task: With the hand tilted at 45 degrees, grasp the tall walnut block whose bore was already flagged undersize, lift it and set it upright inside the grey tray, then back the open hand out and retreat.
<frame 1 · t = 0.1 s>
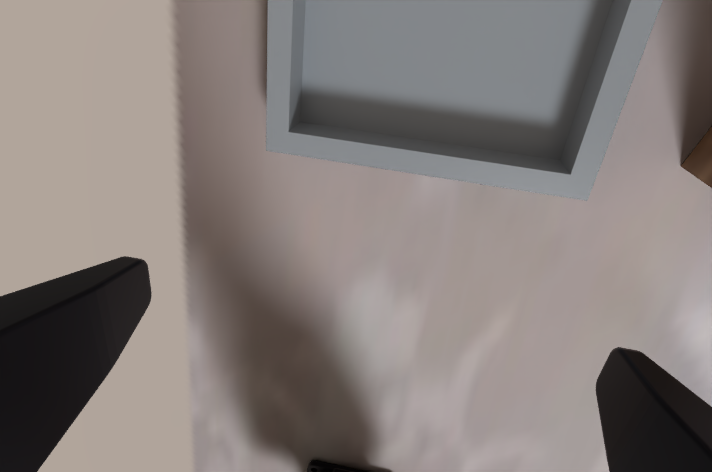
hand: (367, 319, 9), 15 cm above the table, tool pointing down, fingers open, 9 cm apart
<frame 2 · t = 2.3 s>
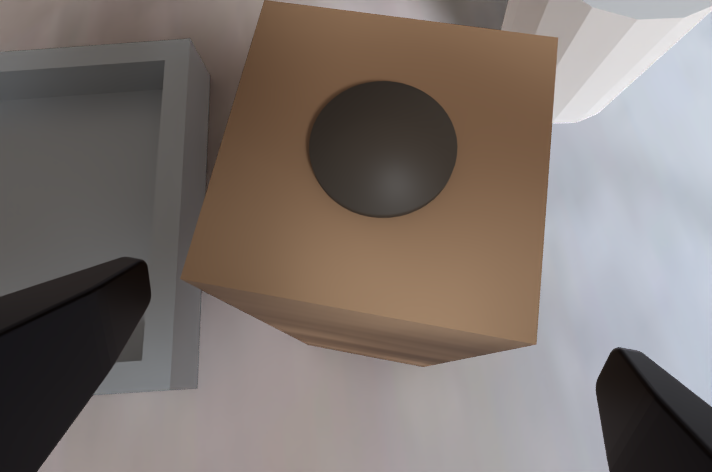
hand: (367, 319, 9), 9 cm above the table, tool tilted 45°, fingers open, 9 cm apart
white cup: (552, 73, 21), on the table
walnut block: (375, 298, 18), on the table
grey tray: (41, 226, 20), on the table
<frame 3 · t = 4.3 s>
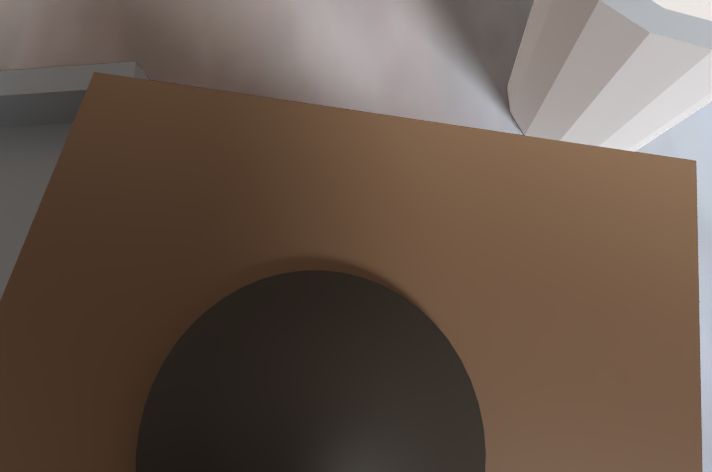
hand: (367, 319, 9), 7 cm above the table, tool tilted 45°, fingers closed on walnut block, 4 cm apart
white cup: (579, 100, 18), on the table
walnut block: (362, 385, 15), on the table, touching gripper
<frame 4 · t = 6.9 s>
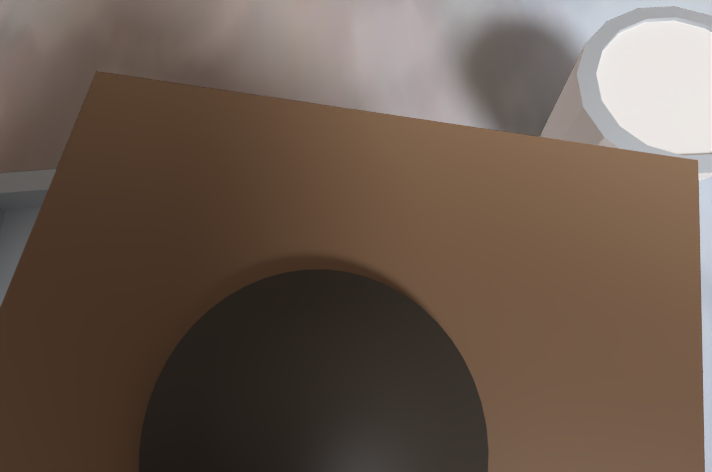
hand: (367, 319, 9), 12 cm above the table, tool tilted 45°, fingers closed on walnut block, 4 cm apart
white cup: (587, 169, 23), on the table
walnut block: (362, 385, 15), point 6 cm above the table, touching gripper
grey tray: (122, 324, 21), on the table
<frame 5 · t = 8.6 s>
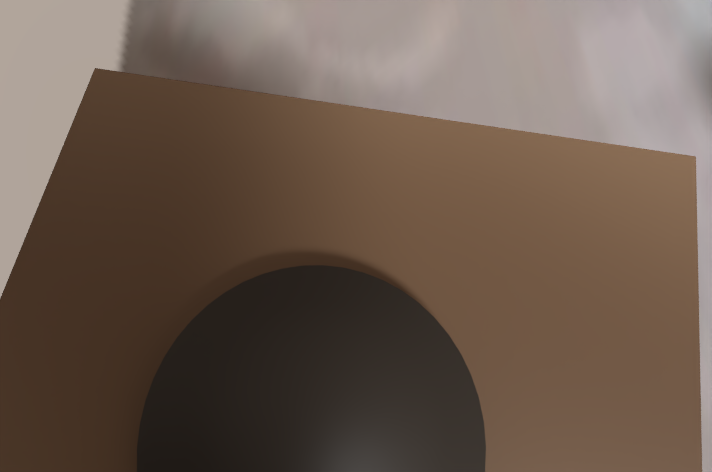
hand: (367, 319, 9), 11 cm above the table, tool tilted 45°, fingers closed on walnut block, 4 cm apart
walnut block: (362, 385, 15), point 4 cm above the table, touching gripper
when the fingers open (9 cm above the table, at t = 9.8 s): walnut block drops 1 cm, resting on grey tray.
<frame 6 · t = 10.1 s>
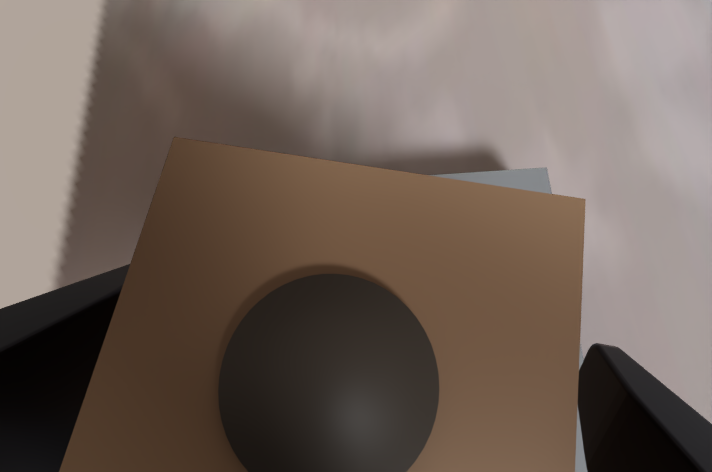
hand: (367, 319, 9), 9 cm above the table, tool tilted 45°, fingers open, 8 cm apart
walnut block: (362, 383, 16), point 1 cm above the table, touching grey tray
grey tray: (363, 383, 17), on the table
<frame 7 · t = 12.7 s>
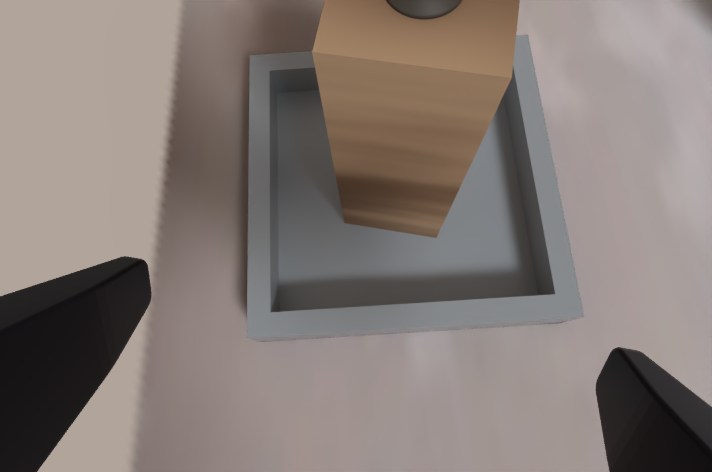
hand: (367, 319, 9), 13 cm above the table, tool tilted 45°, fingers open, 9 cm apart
walnut block: (397, 188, 23), point 1 cm above the table, touching grey tray
grey tray: (397, 193, 23), on the table
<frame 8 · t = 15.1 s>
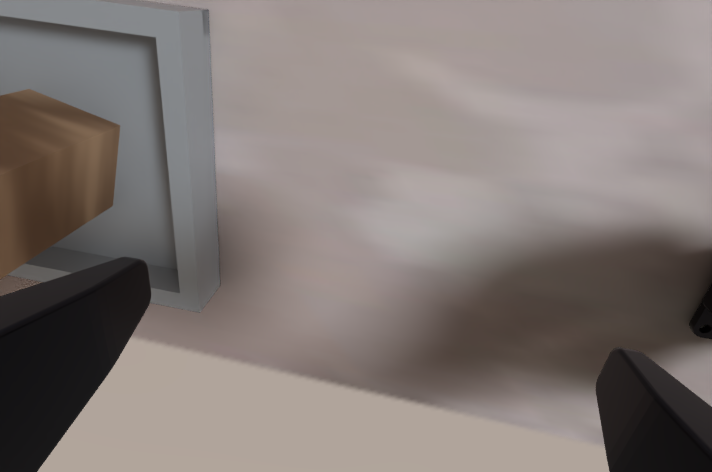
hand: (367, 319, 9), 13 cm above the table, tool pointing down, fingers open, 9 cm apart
walnut block: (73, 150, 22), point 1 cm above the table, touching grey tray
grey tray: (82, 146, 23), on the table
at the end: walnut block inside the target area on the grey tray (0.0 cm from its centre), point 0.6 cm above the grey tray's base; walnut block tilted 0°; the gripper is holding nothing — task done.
